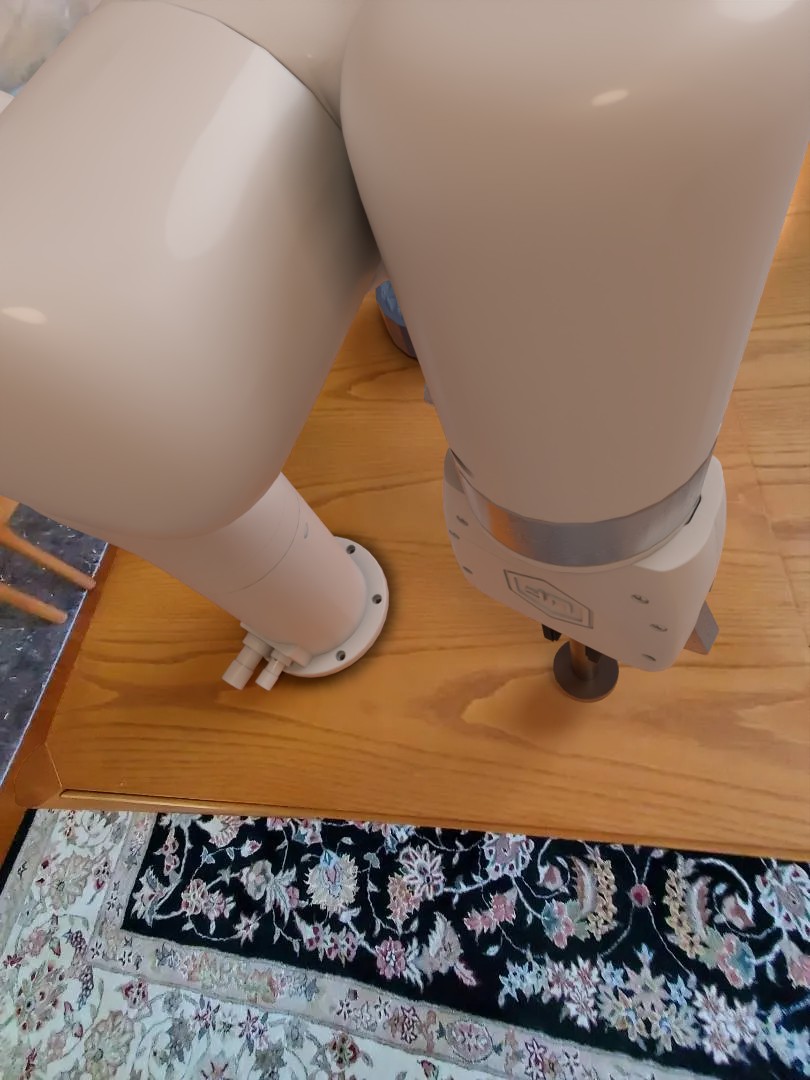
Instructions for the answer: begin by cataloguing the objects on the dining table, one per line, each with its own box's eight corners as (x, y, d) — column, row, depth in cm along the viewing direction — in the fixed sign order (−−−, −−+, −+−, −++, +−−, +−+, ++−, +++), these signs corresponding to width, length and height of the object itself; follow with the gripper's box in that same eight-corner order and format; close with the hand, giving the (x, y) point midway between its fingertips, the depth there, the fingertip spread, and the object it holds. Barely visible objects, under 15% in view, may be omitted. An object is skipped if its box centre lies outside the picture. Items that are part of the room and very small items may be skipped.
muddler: (601, 714, 43) (606, 649, 29) (542, 683, 45) (521, 607, 31) (629, 659, 44) (647, 570, 30) (571, 631, 46) (562, 534, 32)
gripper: (316, 454, 22) (432, 621, 38) (814, 673, 15) (698, 764, 31) (427, 299, 24) (493, 521, 40) (916, 430, 17) (757, 635, 33)
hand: (583, 627), depth 35 cm, fingers closed on muddler
